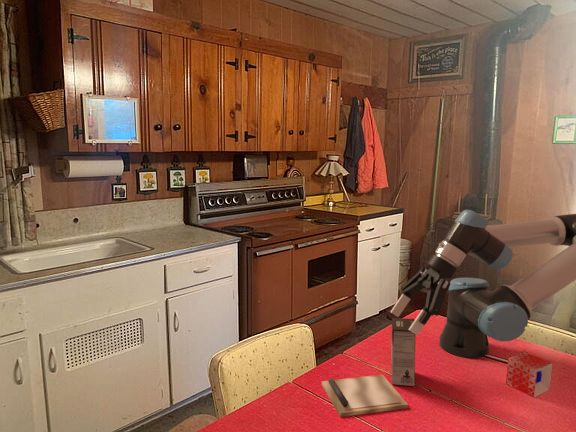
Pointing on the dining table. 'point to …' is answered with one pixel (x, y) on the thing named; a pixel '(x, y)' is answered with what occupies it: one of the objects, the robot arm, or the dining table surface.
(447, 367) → the dining table surface
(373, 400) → the writing board
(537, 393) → the red patterned cube
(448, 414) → the dining table surface
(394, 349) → the coffee box
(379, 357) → the dining table surface
